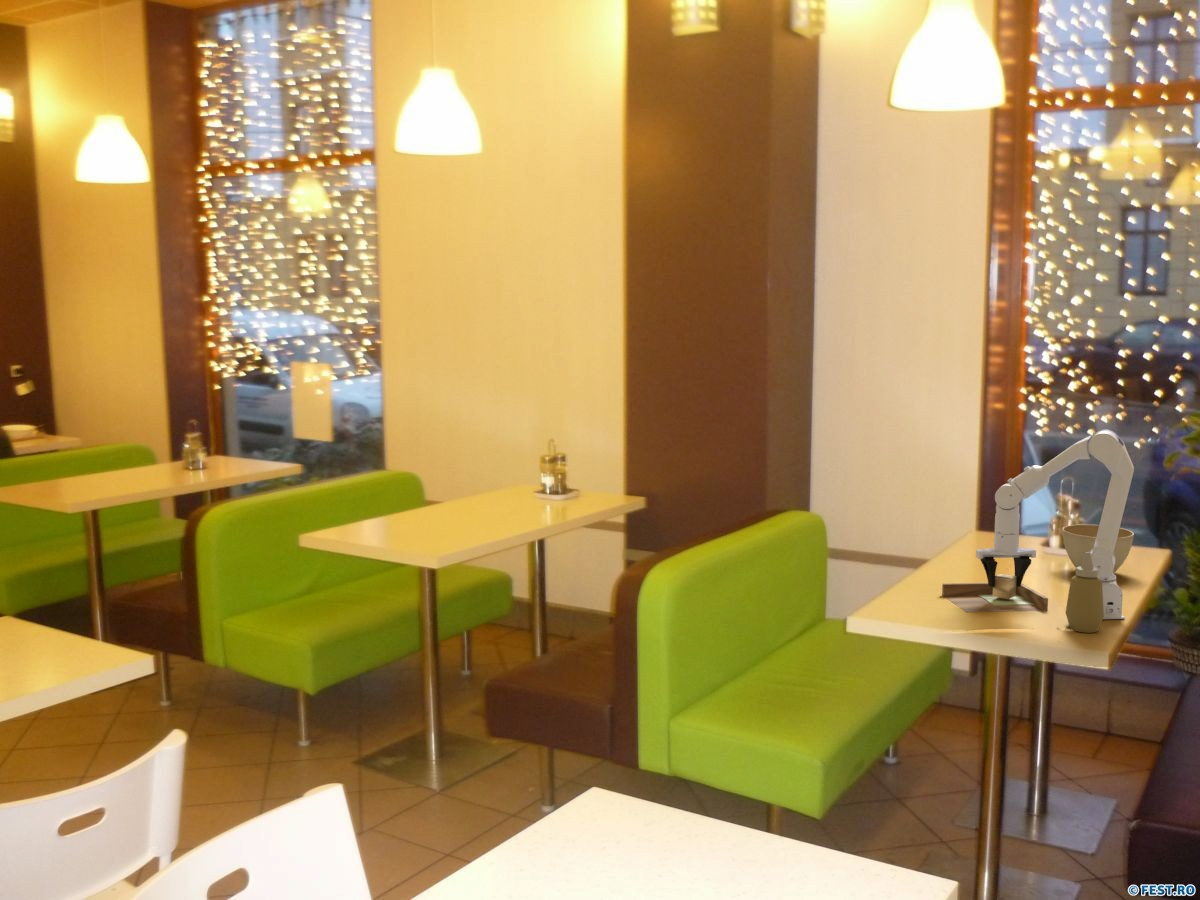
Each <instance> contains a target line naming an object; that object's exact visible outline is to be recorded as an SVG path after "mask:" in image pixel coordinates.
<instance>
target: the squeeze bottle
mask: <svg viewBox="0 0 1200 900" xmlns="http://www.w3.org/2000/svg"><path fill="white" fill-rule="evenodd" d="M1097 576H1098V569H1097V568H1094V567H1093V563H1092V557H1091V553H1090V552H1085V555H1084V558H1083V561H1082V565H1081V566H1079V567H1077V568H1075V575H1073V576H1072V577H1071V579H1070V583H1069V590H1068V596H1067V602H1066V606H1065V607H1066V608H1065V616H1066V619H1067V623H1068V625H1069V628H1070V629H1071V630H1073V631H1076V632H1079V633H1096V632H1098V630H1099V629H1100V626H1101V624H1102V621H1104V619H1103V617H1104V608H1103V590H1102V581H1101V580H1100V579H1099V578H1098V577H1097Z"/></svg>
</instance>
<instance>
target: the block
mask: <svg viewBox="0 0 1200 900" xmlns="http://www.w3.org/2000/svg"><path fill="white" fill-rule="evenodd" d="M1016 581H1017V576H1015V575H1011V574H1005V573H999V574H995V587H993V595H992V596H994V597H999V598H1005V599H1010V598H1012V597H1014V596H1016Z"/></svg>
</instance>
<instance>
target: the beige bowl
mask: <svg viewBox="0 0 1200 900" xmlns="http://www.w3.org/2000/svg"><path fill="white" fill-rule="evenodd" d="M1098 528H1099V524H1071V525H1066V526H1064V527H1062V541H1063V543H1064V548H1065V550H1066V554H1067V556H1068V559H1069V560H1070V561H1071V564H1072V565H1073V566H1074V568H1075V569H1076V568H1077V567H1079V566H1081V565H1082V561H1083V558H1084V555H1085V552H1090V551H1091V550H1092V549H1093V548H1094V544H1095V540H1096V537H1097V532H1098ZM1134 536H1135V533H1134V532H1133V531H1131V530H1129V529H1126V528H1123V527H1120V528H1119V532H1118V536H1117V540H1116V544H1115V548H1114V554H1115V558H1116V562H1115V565H1114V570H1113V573H1114V574H1115V573H1116V572H1117V571H1118V570H1119V569H1120V567H1121V566H1122V565H1123V564H1124V563H1125V561H1126V560H1127V557H1128V556H1129V554H1130V551H1131V548H1132V545H1133V541H1134Z"/></svg>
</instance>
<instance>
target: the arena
mask: <svg viewBox="0 0 1200 900" xmlns="http://www.w3.org/2000/svg"><path fill="white" fill-rule="evenodd" d="M941 589H942V590H941V591H942V592H941V595H942V597H943V598H945V599H947V600H948V601H949V602H951V603H953V604H954V605H956V606H957V607H958V608H959V609H961V610H963V612H965V613H989V612H993V613H995V612H997V613H998V612H1000V613H1001V612H1040V611H1041V612H1043V611H1048V607H1049V606H1048V605H1049V598H1048V597H1047V596H1045V595H1044V594H1042V593H1040V592H1038V591H1035V589H1032V588H1030V587H1029V586H1027V585H1025V584H1023V582H1022V583H1021V587H1017V586H1016V596H1014V597H1012V598H1010V599H1005V598H999V597H994V596H992V595H993V587H990V586H989V585H988V582H960V583H959V582H958V583H956V582H955V583H942V588H941Z"/></svg>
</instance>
